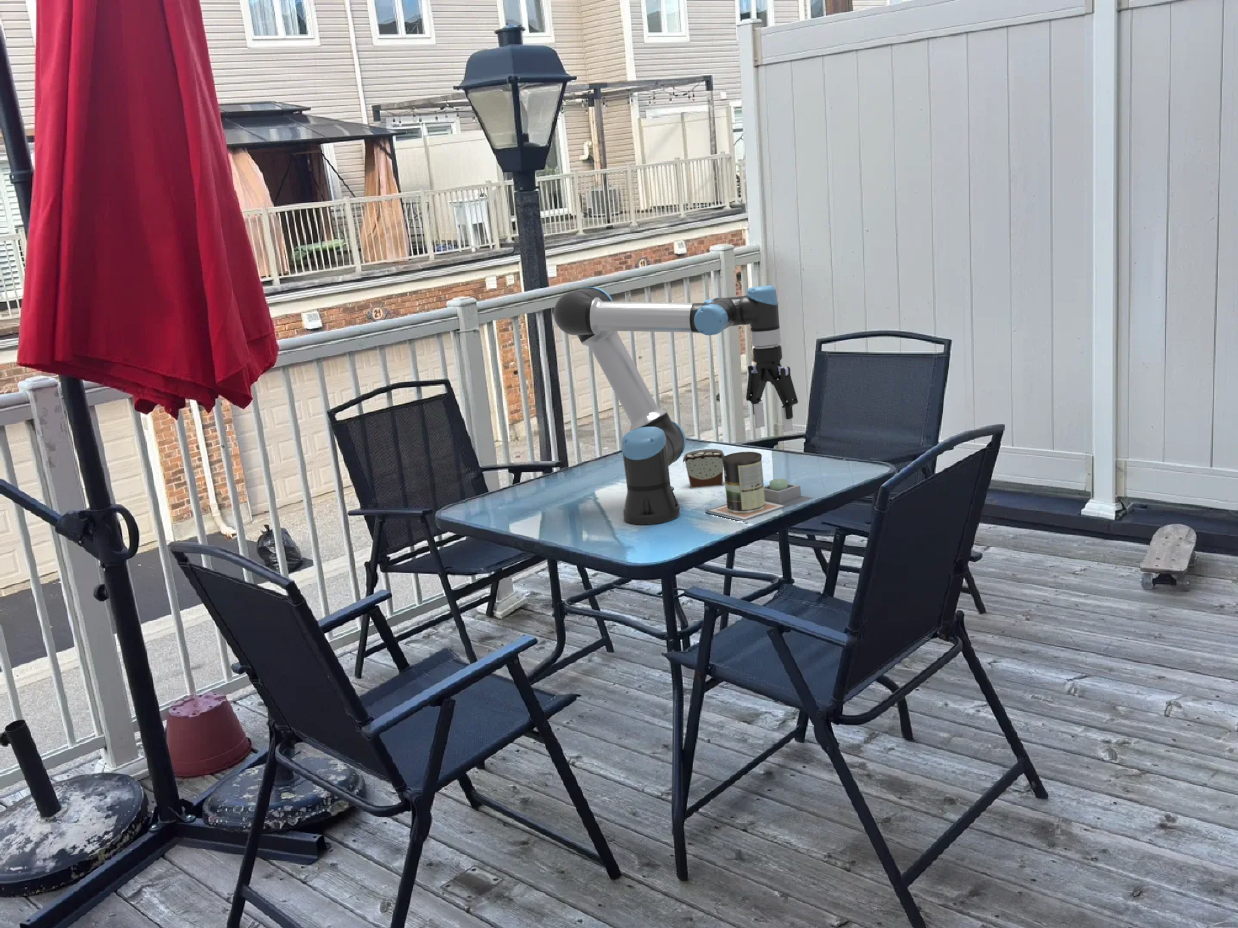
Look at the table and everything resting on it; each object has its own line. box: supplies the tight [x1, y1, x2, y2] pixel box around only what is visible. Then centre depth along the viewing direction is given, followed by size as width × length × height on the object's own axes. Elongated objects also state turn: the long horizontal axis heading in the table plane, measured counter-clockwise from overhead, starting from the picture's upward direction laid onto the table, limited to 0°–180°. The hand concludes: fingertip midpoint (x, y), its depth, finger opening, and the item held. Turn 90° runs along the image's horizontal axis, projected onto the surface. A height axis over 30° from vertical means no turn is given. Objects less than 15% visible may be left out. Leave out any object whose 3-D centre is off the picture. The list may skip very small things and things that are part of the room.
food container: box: [682, 448, 726, 489], centre depth 318 cm, size 12×6×10 cm, turn 84°
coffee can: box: [722, 451, 766, 514], centre depth 285 cm, size 10×10×14 cm
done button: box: [769, 478, 789, 491], centre depth 292 cm, size 5×5×3 cm
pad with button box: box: [705, 482, 813, 522], centre depth 289 cm, size 24×16×4 cm, turn 125°
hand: (773, 428), depth 288 cm, fingers open, 10 cm apart
